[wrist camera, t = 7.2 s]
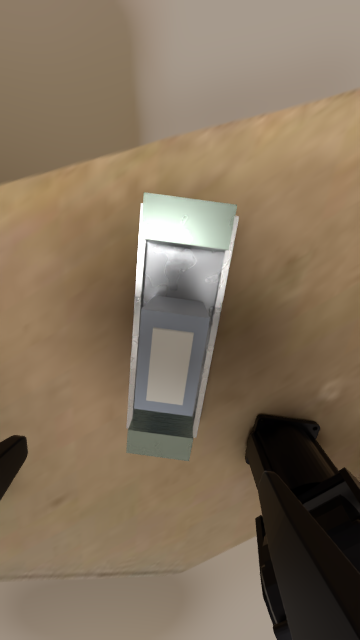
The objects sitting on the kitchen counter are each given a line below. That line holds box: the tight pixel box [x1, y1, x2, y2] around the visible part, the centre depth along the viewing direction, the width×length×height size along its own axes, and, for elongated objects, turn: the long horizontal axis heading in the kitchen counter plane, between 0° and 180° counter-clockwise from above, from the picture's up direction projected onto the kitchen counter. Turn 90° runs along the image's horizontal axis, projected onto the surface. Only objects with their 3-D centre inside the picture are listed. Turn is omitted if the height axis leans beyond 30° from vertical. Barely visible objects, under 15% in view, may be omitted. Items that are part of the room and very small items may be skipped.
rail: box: [126, 192, 239, 461], centre depth 16 cm, size 7×20×4 cm, turn 173°
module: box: [134, 295, 210, 416], centre depth 15 cm, size 4×7×5 cm, turn 173°
